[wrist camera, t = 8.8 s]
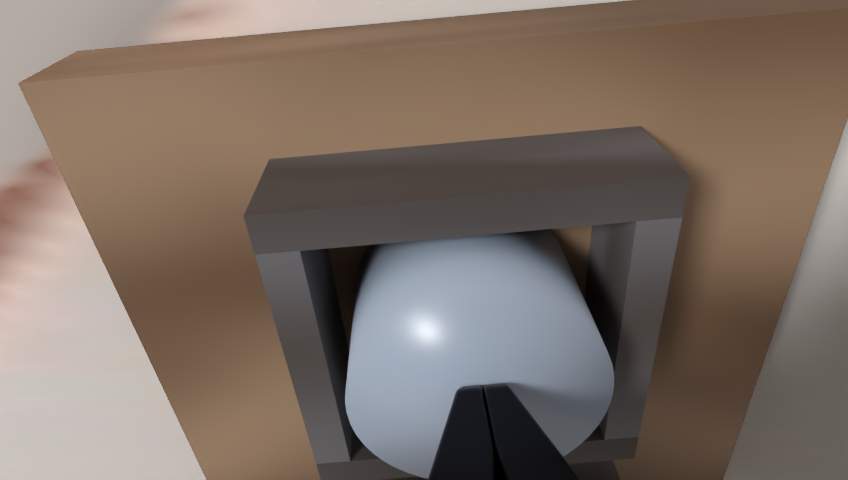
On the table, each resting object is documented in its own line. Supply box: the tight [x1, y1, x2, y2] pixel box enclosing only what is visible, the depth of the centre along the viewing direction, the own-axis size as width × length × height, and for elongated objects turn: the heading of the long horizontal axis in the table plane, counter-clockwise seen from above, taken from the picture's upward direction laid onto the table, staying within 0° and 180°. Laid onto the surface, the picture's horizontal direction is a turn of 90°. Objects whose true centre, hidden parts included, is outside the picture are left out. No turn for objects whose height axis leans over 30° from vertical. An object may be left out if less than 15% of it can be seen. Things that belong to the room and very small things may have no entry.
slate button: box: [345, 229, 614, 479], centre depth 11 cm, size 4×4×3 cm
